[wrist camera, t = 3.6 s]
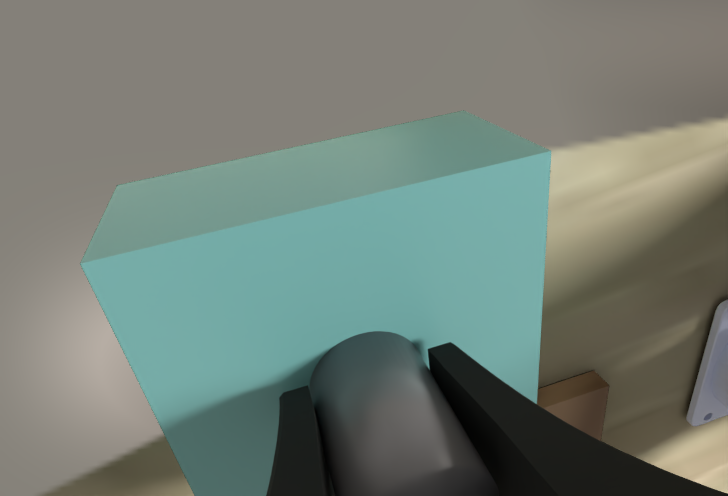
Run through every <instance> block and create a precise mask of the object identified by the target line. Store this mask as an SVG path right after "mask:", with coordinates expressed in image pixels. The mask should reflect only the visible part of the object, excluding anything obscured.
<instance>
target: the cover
mask: <svg viewBox="0 0 728 496" xmlns="http://www.w3.org/2000/svg"><path fill="white" fill-rule="evenodd" d="M550 164H551V151H550V150H548V149H546V148H543V147H542V146H539V145H537V144H535V143H533V142H531V141H529V140H526V139H524V138H522V137H520V136H518V135H515V134H513V133H511V132H509V131H507V130H505V129H503V128H500V127H498V126H496V125H494V124H492V123H490V122H488V121H485V120H483V119H481V118H479V117H477V116H475V115H472V114H470V113H468V112H466V111H459V112H454V113H450V114H445V115H441V116H436V117H431V118H427V119H422V120H418V121H413V122H408V123H403V124H399V125H394V126H390V127H385V128H380V129H376V130H371V131H366V132H362V133H357V134H353V135H348V136H343V137H338V138H334V139H329V140H324V141H320V142H315V143H311V144H307V145H301V146H297V147H292V148H287V149H283V150H278V151H274V152H269V153H264V154H260V155H255V156H250V157H246V158H241V159H237V160H232V161H228V162H223V163H218V164H213V165H209V166H204V167H200V168H195V169H190V170H185V171H181V172H176V173H171V174H167V175H162V176H158V177H153V178H148V179H144V180H139V181H134V182H130V183H125V184H120V185H117V187H116V189H115V191H114V193H113V195H112V197H111V200H110V202H109V203H108V206H107V208H106V210H105V212H104V214H103V216H102V218H101V220H100V223H99V225H98V227H97V229H96V231H95V233H94V235H93V237H92V239H91V242H90V244H89V246H88V248H87V250H86V252H85V254H84V256H83V259H82V261H81V263H80V265H81V267H82V269H83V271H84V273H85V275H86V277H87V279H88V281H89V283H90V285H91V287H92V289H93V291H94V293H95V295H96V297H97V299H98V301H99V303H100V305H101V307H102V309H103V311H104V313H105V315H106V317H107V319H108V321H109V323H110V326H111V328H112V329H113V332H114V334H115V336H116V338H117V340H118V342H119V344H120V346H121V348H122V350H123V352H124V354H125V356H126V358H127V360H128V362H129V364H130V366H131V368H132V370H133V372H134V374H135V376H136V378H137V380H138V382H139V384H140V386H141V388H142V390H143V392H144V394H145V396H146V398H147V400H148V402H149V404H150V406H151V408H152V411H153V412H154V415H155V416H156V419H157V420H158V423H159V425H160V427H161V429H162V431H163V433H164V435H165V437H166V439H167V441H168V443H169V445H170V447H171V449H172V451H173V453H174V455H175V457H176V459H177V461H178V463H179V465H180V467H181V469H182V471H183V473H184V475H185V477H186V479H187V481H188V483H189V485H190V487H191V489H192V491H193V493H194V496H266V494H267V490H268V486H269V482H270V477H271V472H272V466H273V460H274V455H275V449H276V442H277V434H278V426H279V409H280V404H279V397H280V396H281V395H282V393H284V392H287V391H290V390H294V389H297V388H300V387H303V386H307V385H308V387H309V390H310V394H311V398H312V402H313V406H314V410H315V414H316V418H317V421H318V425H319V429H320V433H321V437H322V441H323V447H324V452H325V457H326V461H327V465H328V469H329V473H330V477H331V481H332V485H333V489H334V493H335V496H499V490H498V487H497V485H496V483H495V481H494V479H493V478H492V476H491V474H490V473H489V471H488V469H487V467H486V466H485V464H484V462H483V461H482V459H481V457H480V455H479V454H478V452H477V450H476V449H475V447H474V445H473V443H472V442H471V440H470V438H469V437H468V435H467V433H466V432H465V430H464V428H463V426H462V425H461V423H460V421H459V420H458V418H457V416H456V414H455V413H454V411H453V409H452V408H451V406H450V404H449V402H448V401H447V399H446V397H445V396H444V394H443V392H442V390H441V389H440V387H439V385H438V384H437V382H436V380H435V379H434V377H433V375H432V373H431V372H430V369H429V358H428V349H429V348H432V347H435V346H439V345H442V344H445V343H449V342H451V343H453V344H455V345H456V346H457V347H459V348H460V349H461V350H462V351H464V352H465V353H466V354H467V355H469V356H470V357H471V358H473V359H474V360H475V361H476V362H478V363H479V364H480V365H482V366H483V367H484V368H486V369H487V370H488V371H490V372H491V373H492V374H494V375H495V376H496V377H498V378H499V379H501V380H502V381H503V382H505V383H506V384H508V385H509V386H511V387H512V388H513V389H515V390H516V391H518V392H519V393H521V394H522V395H524V396H525V397H527V398H528V399H530V400H531V401H533V402H534V403H536V404H537V393H538V375H539V358H540V340H541V322H542V305H543V287H544V270H545V252H546V234H547V217H548V199H549V181H550Z"/></svg>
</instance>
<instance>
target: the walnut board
mask: <svg viewBox="0 0 728 496" xmlns="http://www.w3.org/2000/svg"><path fill="white" fill-rule="evenodd" d="M608 391H609V385H608V384H607V383H606V382H605V381H604V380H603V379H602V378H601V377H600V376H599V375H598V374H597V373H596V372H595V371H591V372H588V373H585V374H582V375H579V376H576V377H573V378H570V379H567V380H564V381H561V382H558V383H555V384H552V385H549V386H546V387H543V388H540V389H538V393H537V405H539V406H540V407H542V408H544V409H545V410H547V411H548V412H550V413H552V414H553V415H555V416H556V417H558V418H560V419H562V420H563V421H565V422H567V423H568V424H570V425H572V426H574V427H575V428H577V429H579V430H581V431H583V432H585V433H586V434H588V435H590V436H592V437H594V438H596V439H598V440H599V441H601V436H602V429H603V423H604V417H605V410H606V404H607V397H608Z"/></svg>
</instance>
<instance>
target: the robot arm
mask: <svg viewBox="0 0 728 496" xmlns="http://www.w3.org/2000/svg"><path fill="white" fill-rule="evenodd" d="M428 358H429V369H430V372H431V373H432V375H433V377H434V379H435V380H436V382H437V384H438V385H439V387H440V389H441V390H442V392H443V394H444V396H445V397H446V399H447V401H448V402H449V404H450V406H451V408H452V409H453V411H454V413H455V414H456V416H457V418H458V420H459V421H460V423H461V425H462V426H463V428H464V430H465V432H466V433H467V435H468V437H469V438H470V440H471V442H472V443H473V445H474V447H475V449H476V450H477V452H478V454H479V455H480V457H481V459H482V461H483V462H484V464H485V466H486V467H487V469H488V471H489V473H490V474H491V476H492V478H493V479H494V481H495V483H496V485H497V487H498V490H499V496H728V494H727V493H724V492H721V491H718V490H715V489H712V488H709V487H707V486H704V485H701V484H699V483H696V482H693V481H691V480H688V479H685V478H683V477H680V476H678V475H675V474H673V473H670V472H668V471H665V470H663V469H660V468H658V467H656V466H654V465H651V464H649V463H647V462H645V461H642V460H640V459H638V458H636V457H633V456H631V455H629V454H626V453H624V452H622V451H620V450H618V449H616V448H614V447H612V446H610V445H608V444H606V443H604V442H602V441H599V440H598V439H596V438H594V437H592V436H590V435H588V434H586V433H585V432H583V431H581V430H579V429H577V428H575V427H574V426H572V425H570V424H568V423H567V422H565V421H563V420H562V419H560V418H558V417H556V416H555V415H553V414H552V413H550V412H548V411H547V410H545V409H544V408H542V407H540V406H539V405H537V404H536V403H534V402H533V401H531V400H530V399H528V398H527V397H525V396H524V395H522V394H521V393H519V392H518V391H516V390H515V389H513V388H512V387H511V386H509V385H508V384H506V383H505V382H503V381H502V380H501V379H499V378H498V377H496V376H495V375H494V374H492V373H491V372H490V371H488V370H487V369H486V368H484V367H483V366H482V365H480V364H479V363H478V362H476V361H475V360H474V359H473V358H471V357H470V356H469V355H467V354H466V353H465V352H464V351H462V350H461V349H460V348H459V347H457V346H456V345H455V344H453V343H451V342H449V343H445V344H442V345H439V346H435V347H432V348H429V349H428ZM279 404H280V409H279V426H278V434H277V442H276V449H275V455H274V460H273V466H272V472H271V477H270V482H269V486H268V490H267V494H266V496H335V493H334V489H333V485H332V481H331V477H330V473H329V469H328V465H327V461H326V457H325V452H324V447H323V441H322V437H321V433H320V429H319V425H318V421H317V418H316V414H315V410H314V406H313V402H312V398H311V394H310V390H309V387H308V385H307V386H303V387H300V388H297V389H294V390H290V391H287V392H284V393H282V395H281V396H280V397H279ZM726 415H728V300H725V301H723V302H722V303H720V304H719V306H718V307H717V309H716V311H715V315H714V319H713V322H712V326H711V330H710V333H709V337H708V341H707V344H706V348H705V351H704V355H703V359H702V362H701V366H700V370H699V373H698V377H697V381H696V384H695V388H694V391H693V395H692V399H691V402H690V406H689V410H688V413H687V418H686V420H687V421H688V422H689V423H690V424H691V425H692V426H699V425H702V424H704V423H707V422H710V421H712V420H715V419H718V418H720V417H723V416H726Z"/></svg>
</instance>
